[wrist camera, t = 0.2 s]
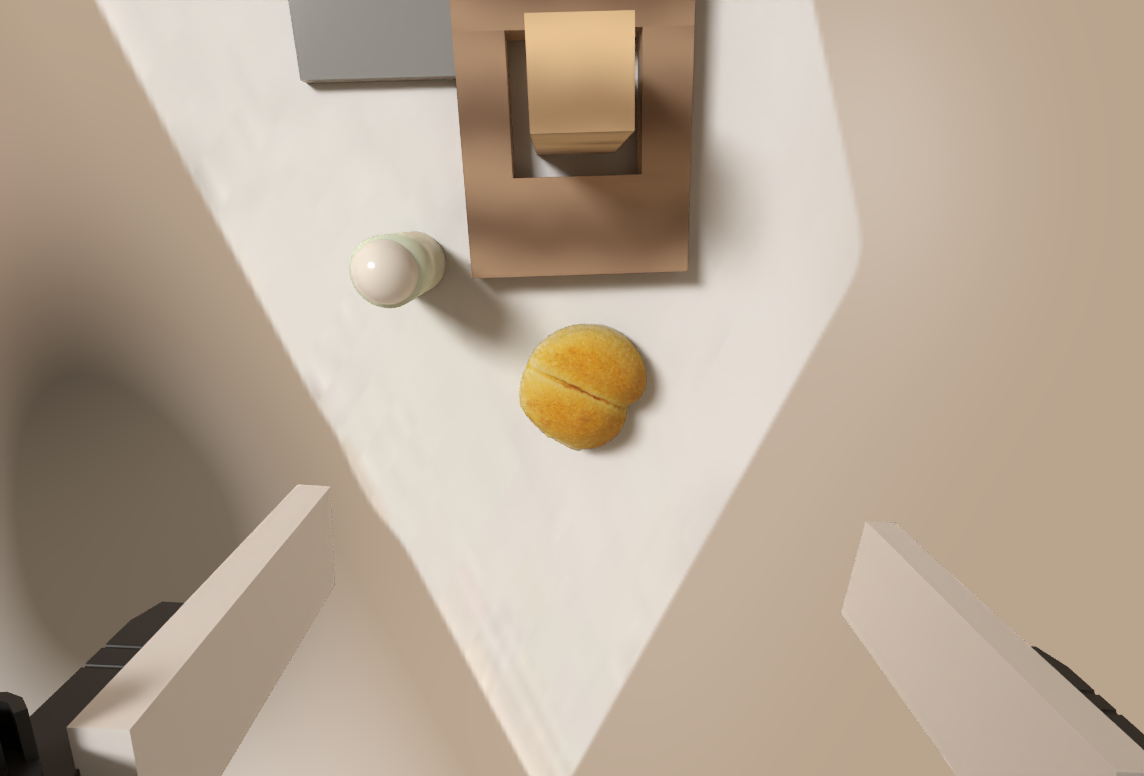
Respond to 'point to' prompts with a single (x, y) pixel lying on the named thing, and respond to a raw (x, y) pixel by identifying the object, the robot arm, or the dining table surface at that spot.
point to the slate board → (372, 40)
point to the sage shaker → (396, 267)
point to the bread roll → (582, 384)
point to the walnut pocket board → (580, 203)
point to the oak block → (580, 80)
